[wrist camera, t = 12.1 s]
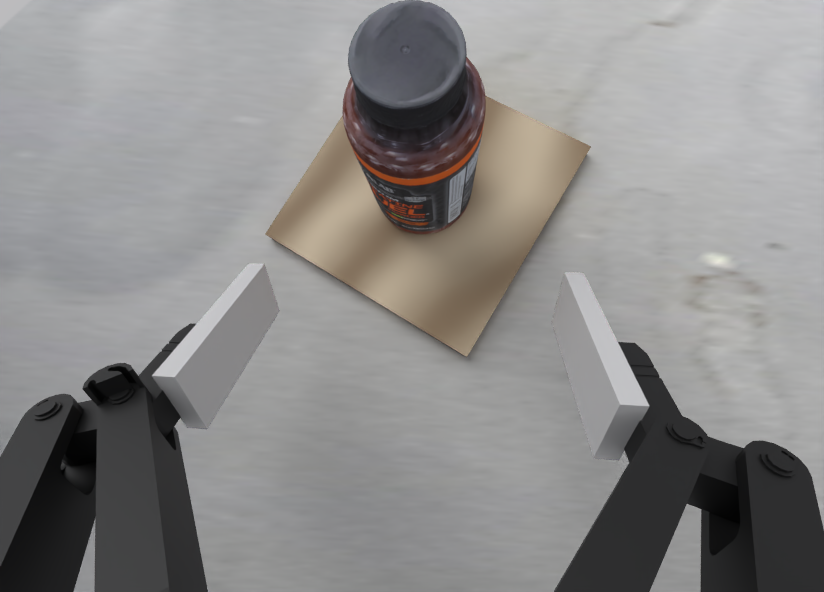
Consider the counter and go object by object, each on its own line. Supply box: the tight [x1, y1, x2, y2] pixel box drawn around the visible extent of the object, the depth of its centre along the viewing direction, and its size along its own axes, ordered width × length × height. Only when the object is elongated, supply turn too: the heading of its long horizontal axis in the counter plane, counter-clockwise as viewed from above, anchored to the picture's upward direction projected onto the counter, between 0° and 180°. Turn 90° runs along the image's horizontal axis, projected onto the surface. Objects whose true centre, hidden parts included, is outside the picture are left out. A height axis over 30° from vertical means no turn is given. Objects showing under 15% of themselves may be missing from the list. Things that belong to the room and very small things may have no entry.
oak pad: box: [266, 96, 591, 357], centre depth 24 cm, size 15×15×1 cm
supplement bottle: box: [343, 0, 486, 234], centre depth 18 cm, size 6×6×11 cm
